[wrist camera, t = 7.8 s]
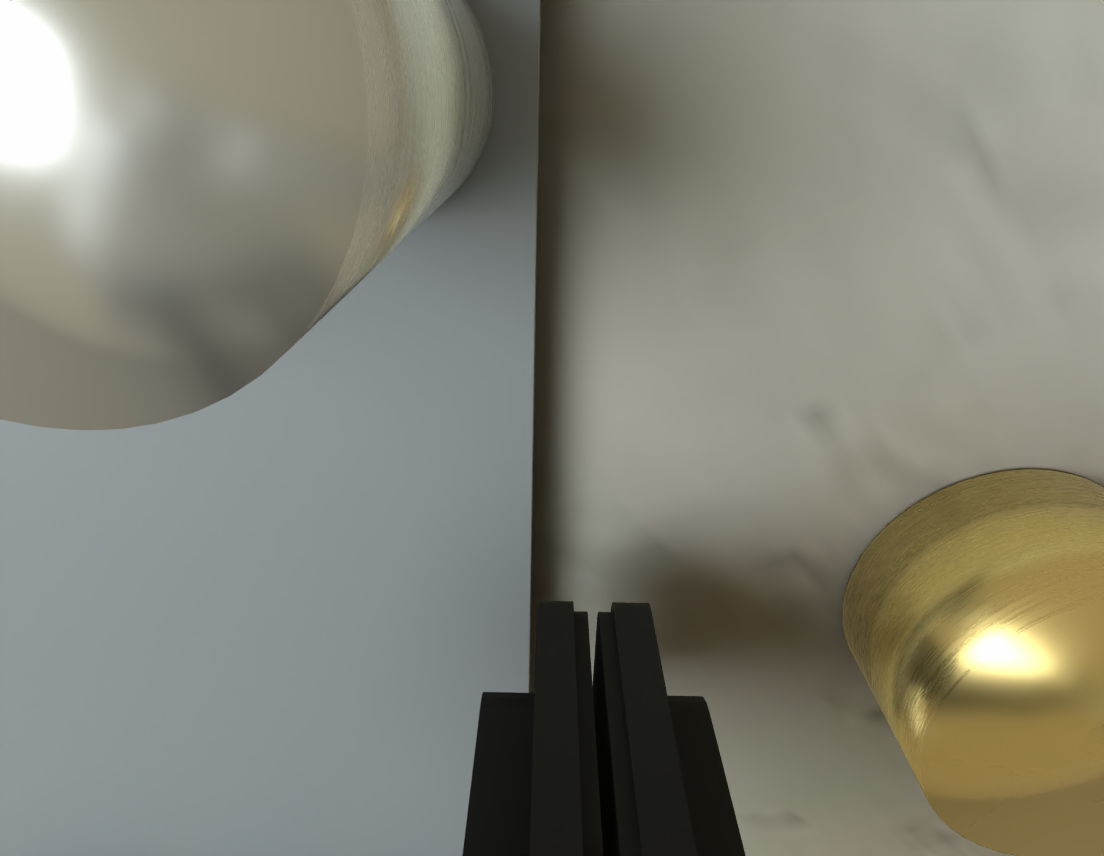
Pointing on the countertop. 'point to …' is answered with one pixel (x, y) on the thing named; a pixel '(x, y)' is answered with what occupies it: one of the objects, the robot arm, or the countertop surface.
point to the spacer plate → (293, 561)
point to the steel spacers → (210, 185)
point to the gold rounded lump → (994, 655)
